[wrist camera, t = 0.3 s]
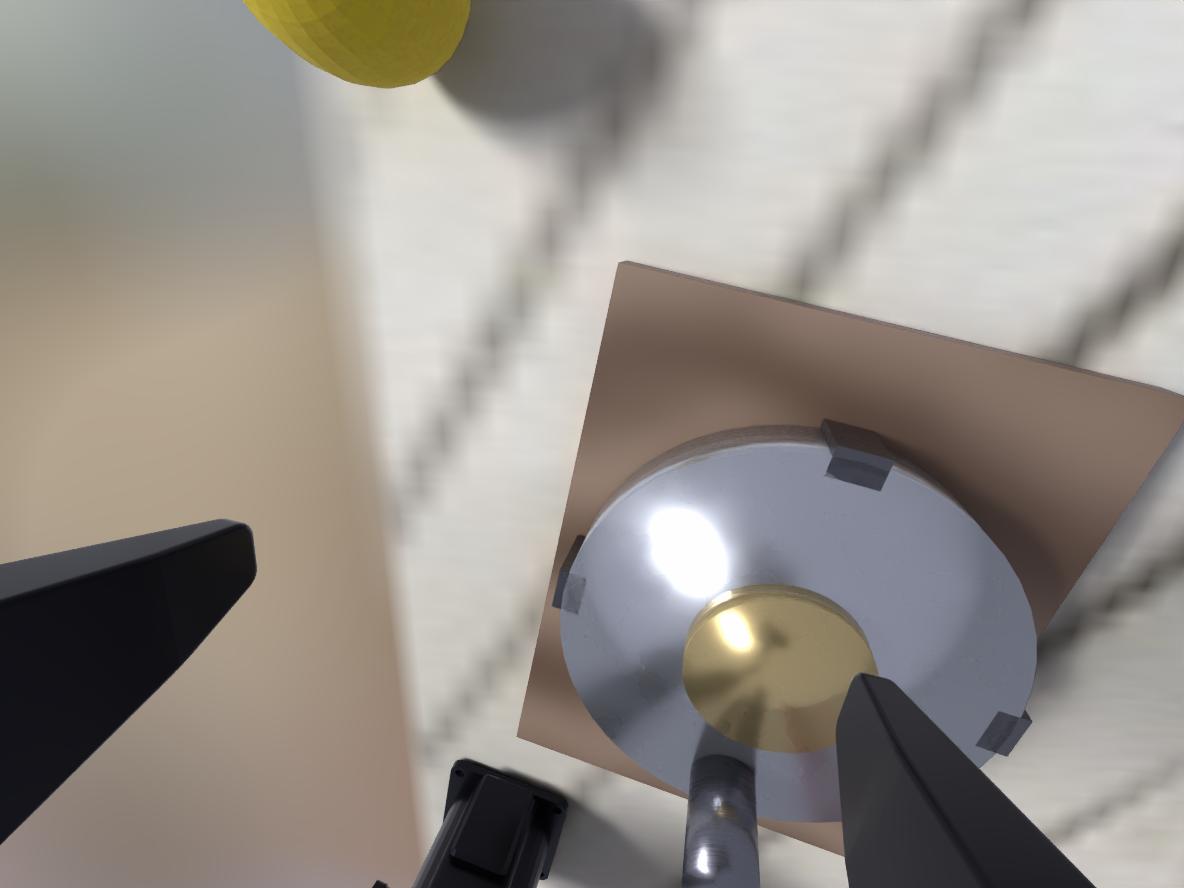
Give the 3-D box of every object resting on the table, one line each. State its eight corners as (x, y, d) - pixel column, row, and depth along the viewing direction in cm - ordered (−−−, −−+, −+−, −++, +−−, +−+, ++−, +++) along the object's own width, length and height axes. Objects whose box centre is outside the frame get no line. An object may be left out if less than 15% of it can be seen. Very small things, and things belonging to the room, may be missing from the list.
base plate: (873, 836, 26) (881, 870, 24) (527, 711, 28) (516, 736, 27) (1160, 387, 17) (1198, 400, 16) (626, 260, 19) (618, 262, 18)
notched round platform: (616, 363, 19) (565, 422, 13) (1108, 493, 17) (1312, 633, 11) (540, 694, 25) (482, 836, 19) (896, 820, 23) (953, 1023, 17)
